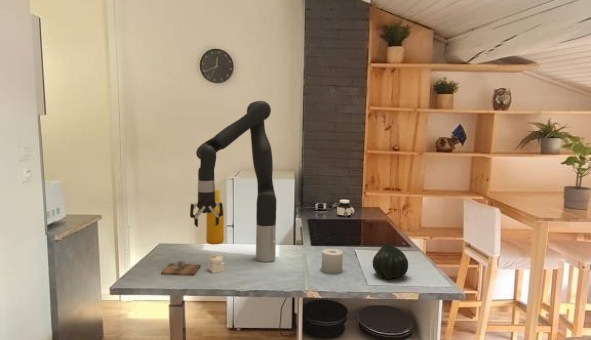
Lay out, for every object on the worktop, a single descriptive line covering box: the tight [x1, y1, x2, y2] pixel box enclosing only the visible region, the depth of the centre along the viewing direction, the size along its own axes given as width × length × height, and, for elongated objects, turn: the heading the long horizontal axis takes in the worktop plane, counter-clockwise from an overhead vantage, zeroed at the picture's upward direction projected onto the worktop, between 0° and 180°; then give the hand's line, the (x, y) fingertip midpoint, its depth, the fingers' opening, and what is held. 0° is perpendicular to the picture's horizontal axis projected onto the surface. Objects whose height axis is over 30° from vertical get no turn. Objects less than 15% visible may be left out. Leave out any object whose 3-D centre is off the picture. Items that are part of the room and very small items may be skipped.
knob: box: [207, 254, 226, 274], centre depth 181 cm, size 6×6×6 cm
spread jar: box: [336, 199, 355, 216], centre depth 297 cm, size 12×11×12 cm
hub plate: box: [160, 260, 202, 277], centre depth 180 cm, size 14×11×4 cm
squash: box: [372, 243, 409, 280], centre depth 180 cm, size 14×15×15 cm
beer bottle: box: [206, 188, 225, 245], centre depth 222 cm, size 9×9×29 cm
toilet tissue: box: [321, 248, 344, 275], centre depth 186 cm, size 9×13×9 cm
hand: (206, 226), depth 183 cm, fingers open, 8 cm apart
